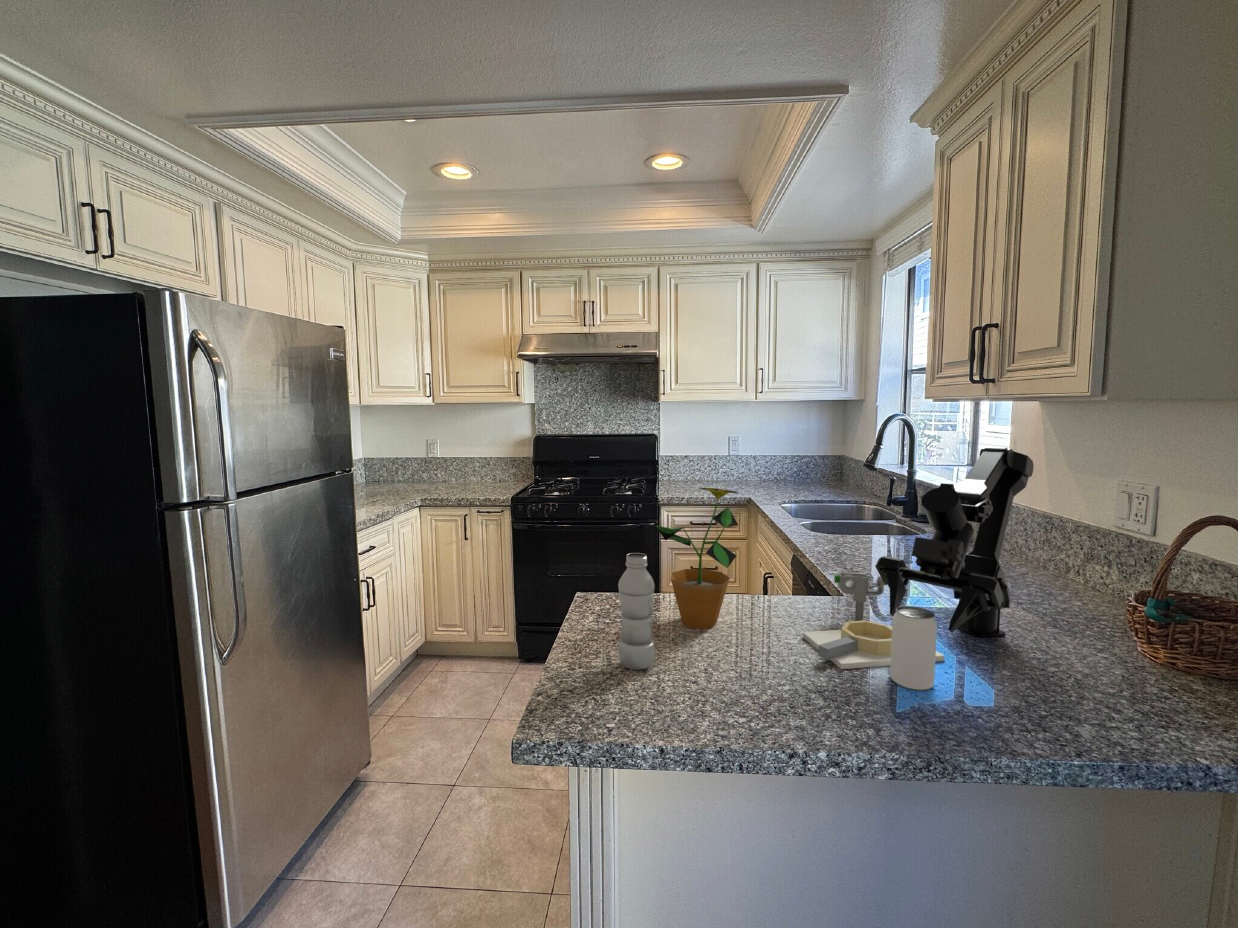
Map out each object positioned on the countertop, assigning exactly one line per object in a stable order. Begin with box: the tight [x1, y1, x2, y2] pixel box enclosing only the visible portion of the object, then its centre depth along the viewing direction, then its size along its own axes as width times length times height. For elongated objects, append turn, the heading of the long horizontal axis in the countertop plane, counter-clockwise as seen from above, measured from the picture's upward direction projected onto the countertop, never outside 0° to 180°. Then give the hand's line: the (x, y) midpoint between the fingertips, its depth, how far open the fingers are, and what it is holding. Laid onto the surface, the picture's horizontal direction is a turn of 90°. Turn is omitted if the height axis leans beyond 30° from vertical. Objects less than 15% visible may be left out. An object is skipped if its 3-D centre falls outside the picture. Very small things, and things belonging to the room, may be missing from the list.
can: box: [889, 605, 938, 692], centre depth 90 cm, size 6×6×12 cm
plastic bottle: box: [617, 552, 656, 671], centre depth 96 cm, size 6×7×20 cm
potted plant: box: [654, 487, 739, 630], centre depth 116 cm, size 18×19×30 cm
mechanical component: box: [833, 572, 888, 621], centre depth 117 cm, size 3×10×10 cm, turn 78°
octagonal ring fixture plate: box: [802, 619, 945, 670], centre depth 104 cm, size 25×14×4 cm, turn 99°
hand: (919, 622), depth 91 cm, fingers open, 9 cm apart
